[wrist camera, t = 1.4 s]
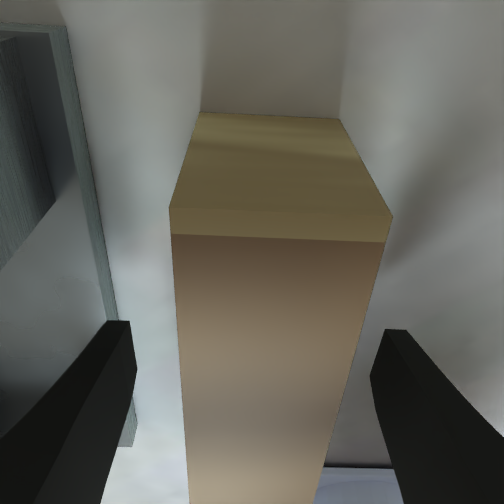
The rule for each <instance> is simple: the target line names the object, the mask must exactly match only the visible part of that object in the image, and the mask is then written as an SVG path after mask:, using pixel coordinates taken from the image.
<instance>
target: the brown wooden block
mask: <svg viewBox="0 0 504 504" xmlns="http://www.w3.org/2000/svg"><path fill="white" fill-rule="evenodd" d="M169 217H170V231H171V246H172V260H173V274H174V288H175V303H176V317H177V331H178V345H179V360H180V374H181V388H182V402H183V417H184V431H185V445H186V460H187V474H188V488H189V502H190V504H313V501H314V497H315V494H316V490H317V487H318V483H319V479H320V476H321V472H322V469H323V465H324V462H325V458H326V454H327V451H328V447H329V444H330V440H331V437H332V433H333V429H334V426H335V422H336V419H337V415H338V411H339V408H340V404H341V401H342V397H343V394H344V390H345V386H346V383H347V379H348V376H349V372H350V369H351V365H352V361H353V358H354V354H355V351H356V347H357V344H358V340H359V336H360V333H361V329H362V326H363V322H364V318H365V315H366V311H367V308H368V304H369V301H370V297H371V293H372V290H373V286H374V283H375V279H376V276H377V272H378V268H379V265H380V261H381V258H382V254H383V251H384V247H385V243H386V240H387V236H388V233H389V229H390V225H391V222H392V218H393V216H392V214H391V212H390V210H389V209H388V207H387V205H386V203H385V201H384V200H383V198H382V196H381V194H380V192H379V190H378V189H377V187H376V185H375V183H374V181H373V180H372V178H371V176H370V174H369V172H368V171H367V169H366V167H365V165H364V163H363V161H362V160H361V158H360V156H359V154H358V152H357V151H356V149H355V147H354V145H353V143H352V141H351V140H350V138H349V136H348V134H347V132H346V131H345V129H344V127H343V125H342V123H341V121H340V120H339V119H328V118H308V117H288V116H268V115H248V114H228V113H208V112H199V115H198V118H197V121H196V124H195V128H194V131H193V134H192V137H191V140H190V143H189V146H188V149H187V152H186V155H185V159H184V162H183V165H182V168H181V171H180V174H179V177H178V180H177V183H176V186H175V190H174V193H173V196H172V199H171V202H170V205H169Z"/></svg>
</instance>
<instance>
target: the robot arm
mask: <svg viewBox="0 0 504 504" xmlns="http://www.w3.org/2000/svg"><path fill="white" fill-rule="evenodd" d="M136 373H137V365H136V358H135V352H134V346H133V340H132V333H131V327H130V321H120V320H107V321H106V322H105V323H104V324H103V325H102V326H101V327H100V329H99V330H98V331H97V333H96V334H95V335H94V337H93V338H92V339H91V340H90V342H89V343H88V344H87V345H86V347H85V348H84V349H83V350H82V352H81V353H80V354H79V355H78V356H77V358H76V359H75V360H74V361H73V362H72V364H71V365H70V366H69V367H68V368H67V369H66V371H65V372H64V373H63V374H62V375H61V376H60V378H59V379H58V380H57V381H56V382H55V383H54V384H53V385H52V387H51V388H50V389H49V390H48V391H47V392H46V393H45V394H44V395H43V396H42V397H41V398H40V399H39V400H38V401H37V402H36V404H35V405H34V406H33V407H32V408H31V409H30V410H29V411H28V412H27V413H26V414H25V415H24V416H23V417H22V418H21V419H20V420H19V421H18V422H17V423H16V424H15V425H14V426H13V427H12V428H11V429H9V430H8V431H7V432H6V433H5V434H4V435H3V436H2V437H1V438H0V504H100V503H101V499H102V495H103V492H104V488H105V484H106V481H107V478H108V475H109V472H110V468H111V465H112V462H113V459H114V456H115V453H116V449H117V446H118V443H119V440H120V437H121V434H122V430H123V427H124V424H125V421H126V418H127V414H128V411H129V408H130V404H131V400H132V395H133V390H134V384H135V379H136ZM370 381H371V387H372V393H373V399H374V404H375V409H376V413H377V416H378V420H379V423H380V427H381V430H382V433H383V436H384V440H385V443H386V446H387V449H388V453H389V456H390V459H391V462H392V466H393V469H373V468H330V467H323V469H322V472H321V476H320V479H319V483H318V487H317V490H316V494H315V497H314V501H313V504H504V437H503V436H502V435H501V434H500V433H499V432H497V431H496V430H495V429H494V428H493V427H492V426H491V425H490V424H489V423H488V422H487V421H486V420H485V419H484V418H483V416H482V415H481V414H480V413H479V412H478V411H477V410H476V409H475V408H474V407H473V406H472V405H471V404H470V403H469V402H468V401H467V400H466V399H465V398H464V397H463V395H462V394H461V393H460V392H459V391H458V390H457V389H456V388H455V386H454V385H453V384H452V383H451V382H450V381H449V380H448V379H447V377H446V376H445V375H444V374H443V373H442V372H441V371H440V369H439V368H438V367H437V366H436V365H435V363H434V362H433V361H432V360H431V359H430V358H429V356H428V355H427V354H426V353H425V352H424V350H423V349H422V348H421V347H420V346H419V344H418V343H417V342H416V341H415V340H414V338H413V337H412V336H411V335H410V334H409V333H408V331H407V330H396V329H385V331H384V334H383V337H382V340H381V343H380V346H379V349H378V352H377V355H376V358H375V361H374V364H373V367H372V370H371V373H370Z"/></svg>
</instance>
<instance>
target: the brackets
mask: <svg viewBox="0 0 504 504" xmlns="http://www.w3.org/2000/svg"><path fill="white" fill-rule="evenodd" d="M107 320H118V315H117V309H116V304H115V298H114V292H113V287H112V281H111V276H110V270H109V264H108V259H107V253H106V248H105V242H104V236H103V231H102V225H101V220H100V214H99V208H98V203H97V197H96V192H95V186H94V180H93V175H92V169H91V164H90V158H89V153H88V147H87V141H86V136H85V130H84V125H83V119H82V113H81V108H80V102H79V97H78V91H77V85H76V80H75V74H74V69H73V63H72V57H71V52H70V46H69V41H68V35H67V30H66V26H49V25H32V24H14V23H0V438H1V437H2V436H3V435H4V434H5V433H6V432H7V431H8V430H9V429H11V428H12V427H13V426H14V425H15V424H16V423H17V422H18V421H19V420H20V419H21V418H22V417H23V416H24V415H25V414H26V413H27V412H28V411H29V410H30V409H31V408H32V407H33V406H34V405H35V404H36V402H37V401H38V400H39V399H40V398H41V397H42V396H43V395H44V394H45V393H46V392H47V391H48V390H49V389H50V388H51V387H52V385H53V384H54V383H55V382H56V381H57V380H58V379H59V378H60V376H61V375H62V374H63V373H64V372H65V371H66V369H67V368H68V367H69V366H70V365H71V364H72V362H73V361H74V360H75V359H76V358H77V356H78V355H79V354H80V353H81V352H82V350H83V349H84V348H85V347H86V345H87V344H88V343H89V342H90V340H91V339H92V338H93V337H94V335H95V334H96V333H97V331H98V330H99V329H100V327H101V326H102V325H103V324H104V323H105V322H106V321H107ZM136 429H137V421H136V415H135V410H134V404H133V399H132V400H131V404H130V408H129V411H128V414H127V418H126V421H125V424H124V427H123V430H122V434H121V437H120V440H119V443H118V446H117V447H132V445H133V441H134V437H135V433H136Z"/></svg>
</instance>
